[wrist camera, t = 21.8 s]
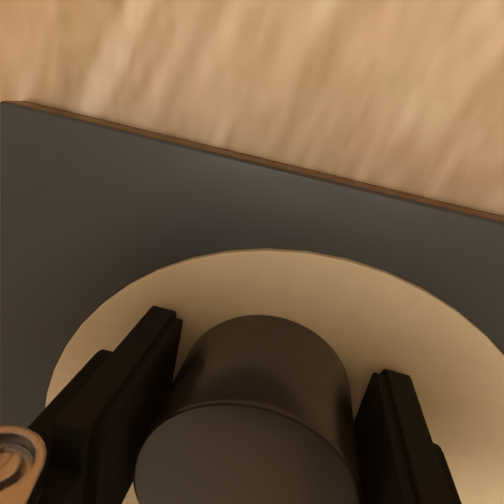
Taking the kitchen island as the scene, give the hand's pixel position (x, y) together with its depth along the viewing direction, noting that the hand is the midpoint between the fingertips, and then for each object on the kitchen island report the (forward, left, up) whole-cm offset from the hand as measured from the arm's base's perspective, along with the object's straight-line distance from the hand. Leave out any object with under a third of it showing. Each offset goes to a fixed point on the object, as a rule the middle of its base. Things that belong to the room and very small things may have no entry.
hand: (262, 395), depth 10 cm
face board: (+1, -3, -1) cm, 3 cm away
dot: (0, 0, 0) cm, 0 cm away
